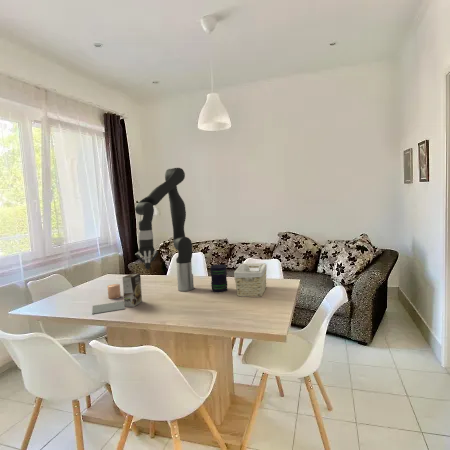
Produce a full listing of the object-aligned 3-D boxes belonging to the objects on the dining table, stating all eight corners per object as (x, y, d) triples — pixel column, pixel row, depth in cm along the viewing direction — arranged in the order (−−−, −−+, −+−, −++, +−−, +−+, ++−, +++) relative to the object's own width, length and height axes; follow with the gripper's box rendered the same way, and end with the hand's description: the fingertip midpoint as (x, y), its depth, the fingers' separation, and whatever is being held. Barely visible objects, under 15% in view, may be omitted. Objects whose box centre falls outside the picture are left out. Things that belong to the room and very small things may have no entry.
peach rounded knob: (120, 294, 200) (119, 283, 199) (121, 297, 193) (120, 286, 193) (108, 296, 197) (107, 285, 197) (108, 299, 191) (107, 287, 190)
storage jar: (228, 287, 204) (227, 264, 202) (226, 292, 194) (225, 267, 193) (212, 288, 205) (211, 264, 203) (210, 292, 195) (209, 267, 194)
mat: (123, 301, 185) (123, 301, 185) (125, 309, 172) (125, 308, 172) (92, 306, 179) (92, 305, 179) (92, 314, 166) (92, 313, 166)
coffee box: (135, 306, 175) (133, 277, 174) (124, 306, 176) (121, 277, 175) (142, 301, 184) (140, 273, 183) (132, 301, 185) (130, 273, 184)
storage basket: (262, 298, 180) (261, 271, 179) (234, 297, 184) (232, 271, 183) (268, 286, 203) (267, 263, 202) (242, 285, 207) (241, 262, 206)
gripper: (157, 236, 186) (158, 266, 188) (133, 238, 182) (134, 269, 183) (159, 238, 179) (160, 269, 181) (134, 240, 175) (136, 271, 176)
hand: (147, 269), depth 182 cm, fingers closed
